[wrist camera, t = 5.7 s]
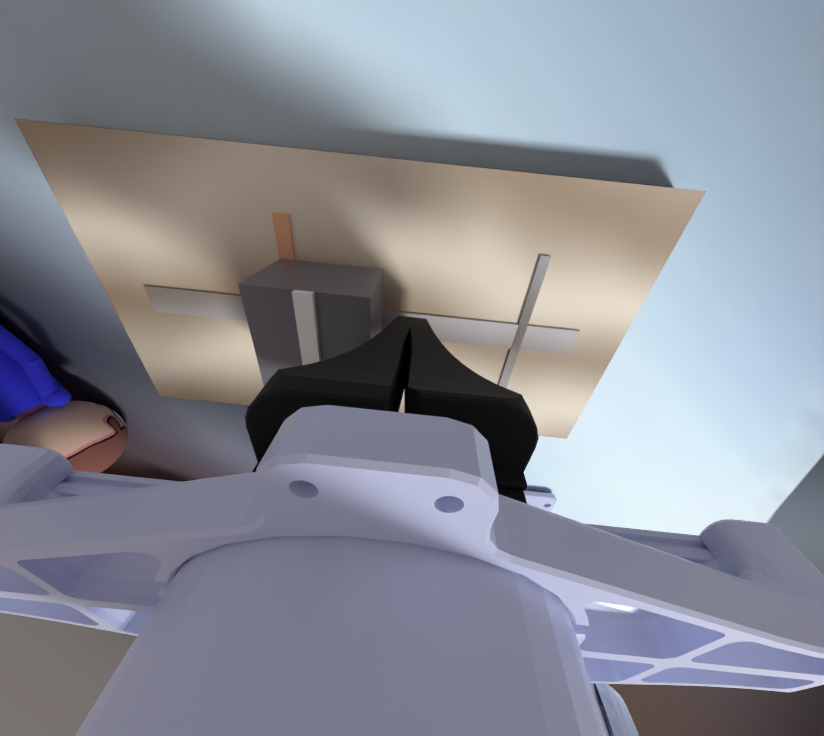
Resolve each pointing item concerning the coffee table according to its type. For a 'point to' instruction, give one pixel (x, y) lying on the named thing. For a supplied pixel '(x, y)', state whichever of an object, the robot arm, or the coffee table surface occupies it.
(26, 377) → the figurine character
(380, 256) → the fader console
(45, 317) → the coffee table surface
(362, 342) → the fader tab
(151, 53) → the coffee table surface
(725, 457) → the coffee table surface
